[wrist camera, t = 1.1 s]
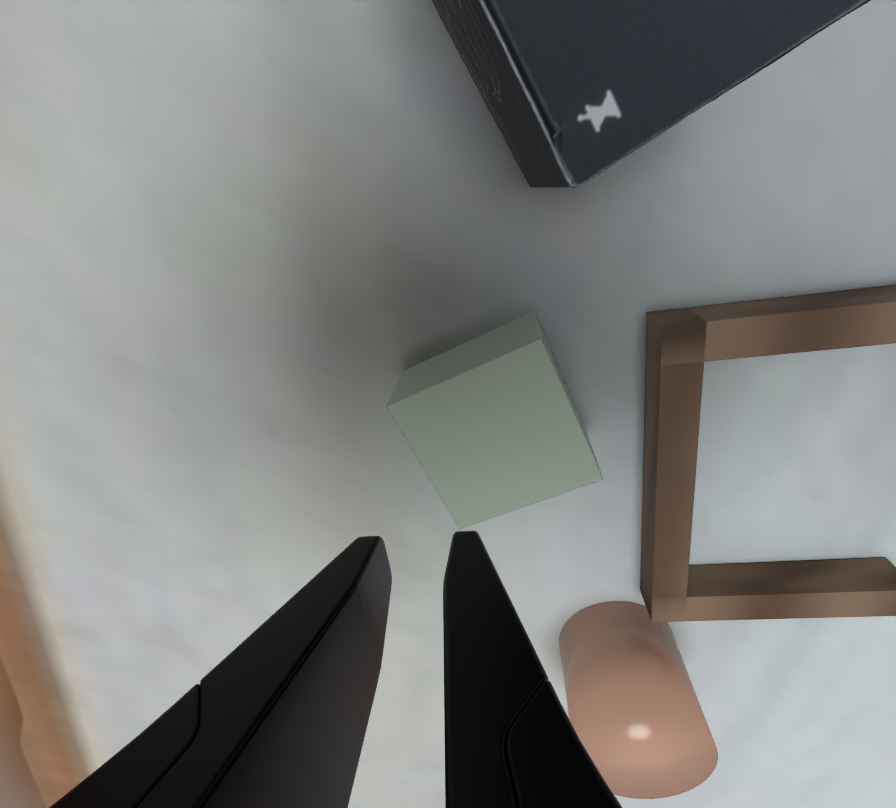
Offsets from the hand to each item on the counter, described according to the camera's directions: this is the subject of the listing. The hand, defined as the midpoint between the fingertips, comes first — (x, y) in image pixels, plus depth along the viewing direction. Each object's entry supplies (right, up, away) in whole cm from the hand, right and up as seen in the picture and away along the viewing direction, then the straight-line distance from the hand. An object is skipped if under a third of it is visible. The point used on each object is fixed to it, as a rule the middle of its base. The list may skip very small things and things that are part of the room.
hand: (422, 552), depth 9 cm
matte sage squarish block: (+3, +3, +13) cm, 14 cm away
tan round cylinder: (+10, -10, +18) cm, 23 cm away
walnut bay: (+14, 0, +13) cm, 19 cm away
